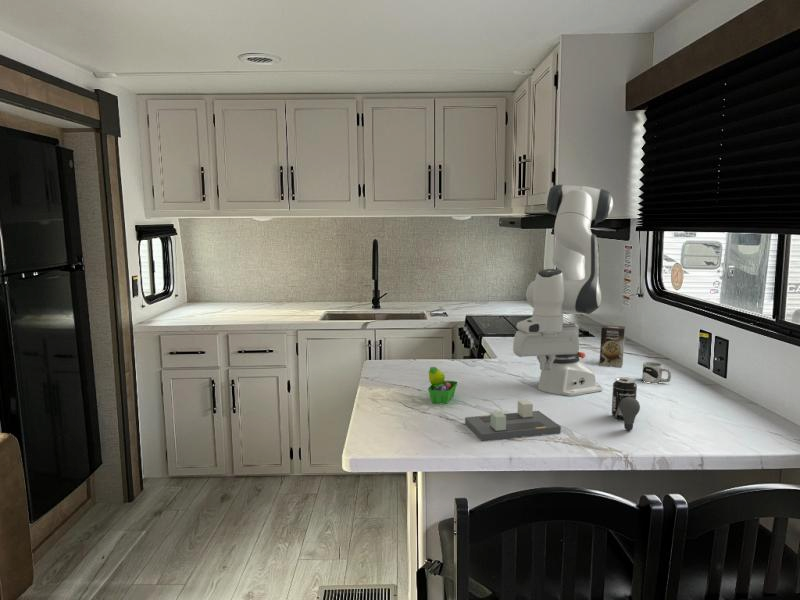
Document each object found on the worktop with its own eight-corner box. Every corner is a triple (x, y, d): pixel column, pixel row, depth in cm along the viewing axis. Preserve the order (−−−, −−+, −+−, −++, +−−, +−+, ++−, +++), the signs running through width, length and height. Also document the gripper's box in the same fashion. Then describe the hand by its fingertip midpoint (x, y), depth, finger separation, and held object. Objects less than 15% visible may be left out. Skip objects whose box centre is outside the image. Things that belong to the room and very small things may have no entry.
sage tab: (500, 424, 171) (500, 411, 171) (505, 429, 167) (506, 416, 167) (490, 425, 170) (490, 412, 170) (495, 430, 167) (496, 417, 166)
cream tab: (526, 412, 182) (526, 399, 181) (532, 416, 178) (532, 403, 177) (517, 413, 181) (517, 400, 180) (523, 417, 177) (523, 404, 176)
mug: (639, 381, 220) (640, 364, 219) (646, 377, 225) (647, 360, 224) (667, 386, 214) (668, 369, 213) (673, 382, 219) (674, 365, 218)
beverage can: (615, 412, 188) (617, 375, 186) (638, 416, 183) (640, 379, 182) (608, 418, 182) (609, 380, 181) (630, 423, 178) (632, 384, 176)
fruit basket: (449, 406, 195) (449, 372, 193) (423, 403, 198) (423, 370, 196) (458, 395, 205) (458, 364, 204) (433, 393, 208) (433, 362, 207)
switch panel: (538, 416, 184) (538, 410, 184) (560, 433, 170) (560, 426, 170) (465, 423, 178) (465, 417, 178) (482, 441, 165) (482, 433, 165)
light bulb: (640, 434, 169) (642, 400, 167) (620, 433, 170) (621, 399, 168) (636, 427, 174) (638, 394, 173) (616, 426, 175) (618, 393, 174)
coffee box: (599, 365, 243) (600, 327, 240) (600, 362, 249) (601, 324, 246) (622, 367, 239) (624, 328, 237) (623, 364, 245) (625, 325, 243)
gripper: (573, 321, 182) (571, 365, 184) (511, 323, 177) (510, 368, 179) (584, 324, 176) (582, 370, 178) (520, 327, 171) (519, 373, 173)
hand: (545, 369), depth 178 cm, fingers closed
